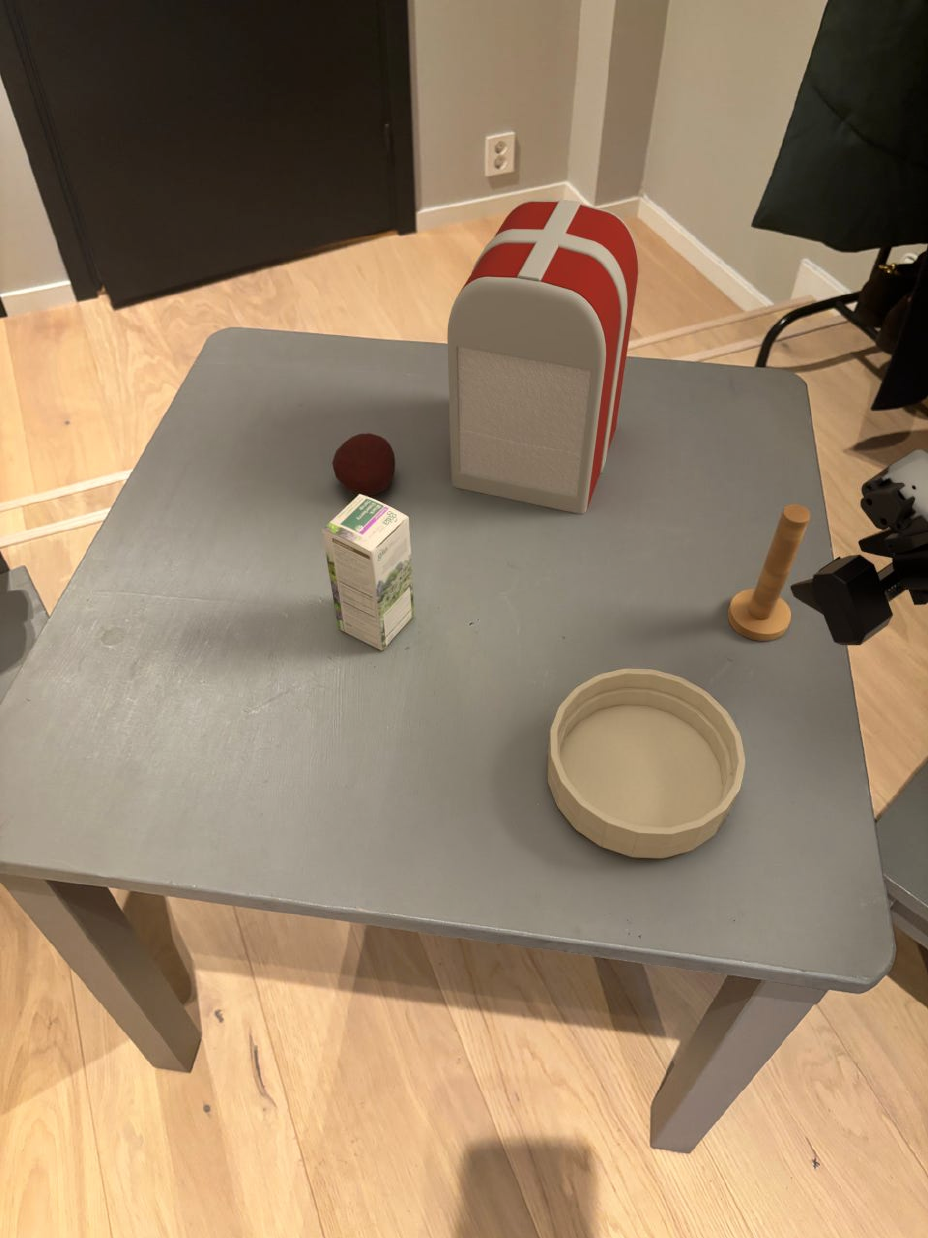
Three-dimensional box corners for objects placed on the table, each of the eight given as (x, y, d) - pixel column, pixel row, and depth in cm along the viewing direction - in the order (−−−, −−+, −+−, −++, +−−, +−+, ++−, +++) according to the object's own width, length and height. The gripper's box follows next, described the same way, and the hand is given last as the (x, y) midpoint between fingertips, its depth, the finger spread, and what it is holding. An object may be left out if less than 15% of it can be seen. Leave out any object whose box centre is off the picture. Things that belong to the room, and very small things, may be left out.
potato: (322, 498, 103) (315, 458, 99) (352, 455, 108) (347, 414, 104) (381, 513, 102) (376, 473, 97) (409, 468, 107) (406, 427, 102)
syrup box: (370, 594, 94) (356, 489, 83) (417, 617, 92) (409, 512, 81) (337, 630, 91) (318, 526, 80) (384, 654, 89) (371, 551, 78)
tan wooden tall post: (791, 605, 92) (835, 499, 81) (783, 648, 89) (827, 543, 77) (733, 590, 94) (767, 484, 82) (722, 631, 90) (757, 527, 79)
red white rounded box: (447, 486, 104) (440, 267, 84) (492, 398, 115) (495, 185, 94) (586, 515, 101) (614, 295, 80) (619, 422, 112) (651, 206, 91)
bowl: (745, 730, 83) (758, 698, 79) (712, 888, 73) (725, 861, 69) (576, 680, 86) (580, 648, 82) (522, 824, 77) (525, 795, 73)
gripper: (1031, 403, 68) (863, 443, 82) (875, 505, 61) (720, 529, 75) (1076, 537, 70) (904, 553, 84) (929, 650, 63) (768, 647, 77)
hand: (827, 567), depth 80 cm, fingers open, 9 cm apart
